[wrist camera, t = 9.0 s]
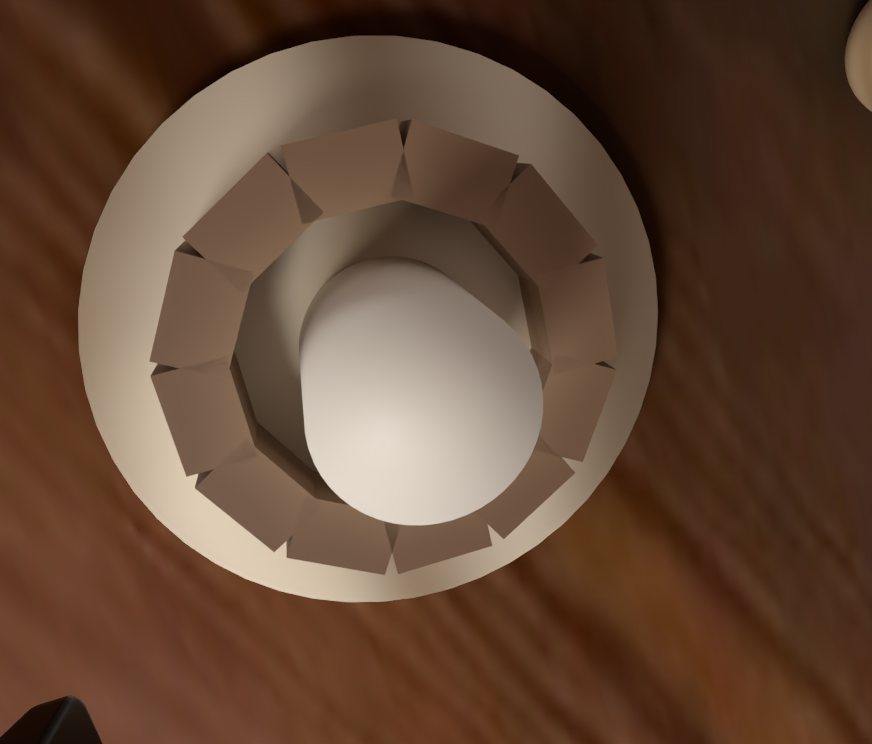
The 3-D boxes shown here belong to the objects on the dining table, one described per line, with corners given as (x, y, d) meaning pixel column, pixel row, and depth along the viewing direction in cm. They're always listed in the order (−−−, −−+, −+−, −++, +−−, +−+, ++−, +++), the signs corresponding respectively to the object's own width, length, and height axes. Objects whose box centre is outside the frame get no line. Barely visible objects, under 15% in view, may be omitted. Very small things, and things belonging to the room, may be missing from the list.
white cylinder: (494, 405, 20) (561, 487, 15) (326, 452, 19) (339, 553, 14) (458, 236, 18) (519, 268, 13) (276, 282, 18) (273, 332, 13)
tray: (602, -18, 18) (649, -41, 16) (672, 503, 22) (716, 544, 20) (-11, 116, 16) (-59, 111, 14) (195, 649, 21) (184, 710, 19)
